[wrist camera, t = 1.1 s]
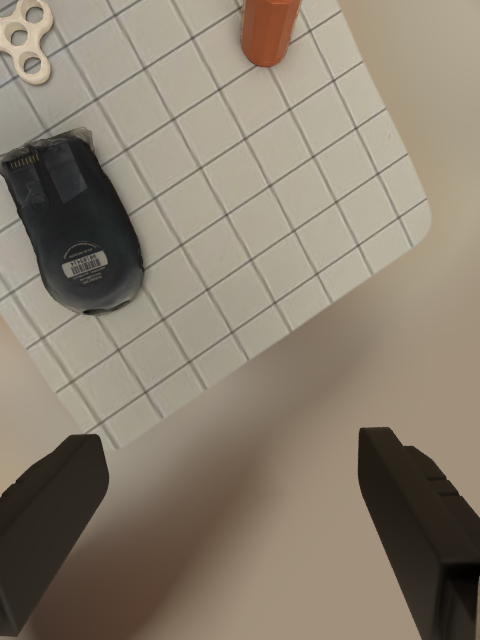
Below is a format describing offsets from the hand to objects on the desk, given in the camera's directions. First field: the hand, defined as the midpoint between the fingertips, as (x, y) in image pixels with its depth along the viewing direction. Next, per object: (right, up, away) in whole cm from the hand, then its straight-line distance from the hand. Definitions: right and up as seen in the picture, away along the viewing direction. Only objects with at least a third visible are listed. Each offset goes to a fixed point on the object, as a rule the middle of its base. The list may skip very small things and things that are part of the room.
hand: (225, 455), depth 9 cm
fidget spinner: (-19, +29, +16) cm, 38 cm away
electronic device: (-14, +12, +19) cm, 27 cm away
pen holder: (+3, +31, +18) cm, 36 cm away
